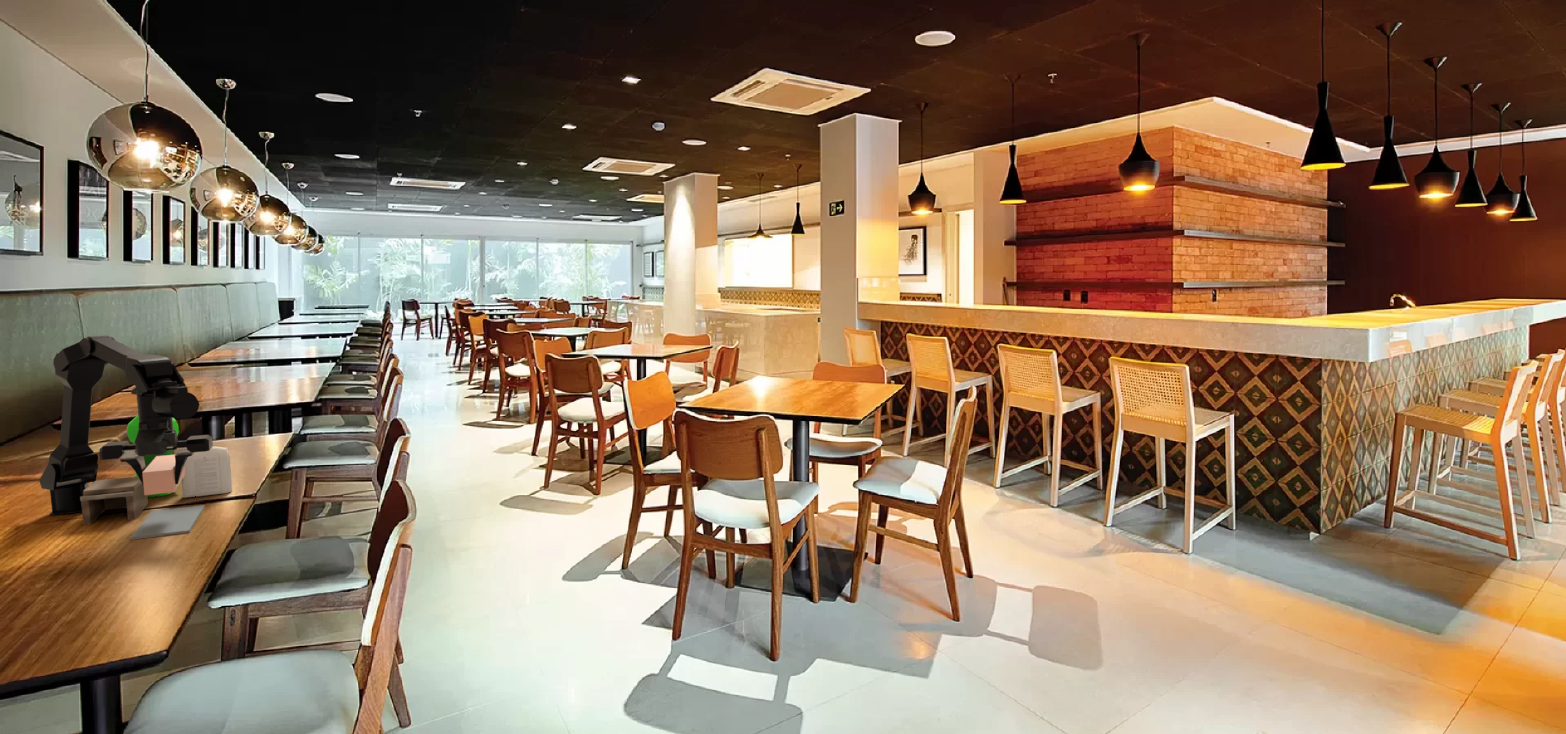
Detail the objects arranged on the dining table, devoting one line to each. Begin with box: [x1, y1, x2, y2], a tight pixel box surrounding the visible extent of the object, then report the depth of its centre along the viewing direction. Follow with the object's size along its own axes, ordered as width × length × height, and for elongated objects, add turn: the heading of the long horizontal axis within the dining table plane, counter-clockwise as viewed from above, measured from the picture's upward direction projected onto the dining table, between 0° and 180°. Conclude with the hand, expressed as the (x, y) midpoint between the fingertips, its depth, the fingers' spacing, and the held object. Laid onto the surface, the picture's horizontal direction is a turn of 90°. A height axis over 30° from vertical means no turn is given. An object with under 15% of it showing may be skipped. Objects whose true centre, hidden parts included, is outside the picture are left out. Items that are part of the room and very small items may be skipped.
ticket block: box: [142, 454, 185, 495], centre depth 175 cm, size 5×17×5 cm, turn 31°
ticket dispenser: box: [80, 476, 149, 526], centre depth 181 cm, size 9×14×7 cm, turn 29°
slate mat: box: [130, 504, 206, 540], centre depth 176 cm, size 10×21×1 cm, turn 29°
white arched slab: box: [181, 445, 233, 499], centre depth 198 cm, size 10×4×12 cm, turn 123°
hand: (161, 485), depth 171 cm, fingers closed on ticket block, 5 cm apart
